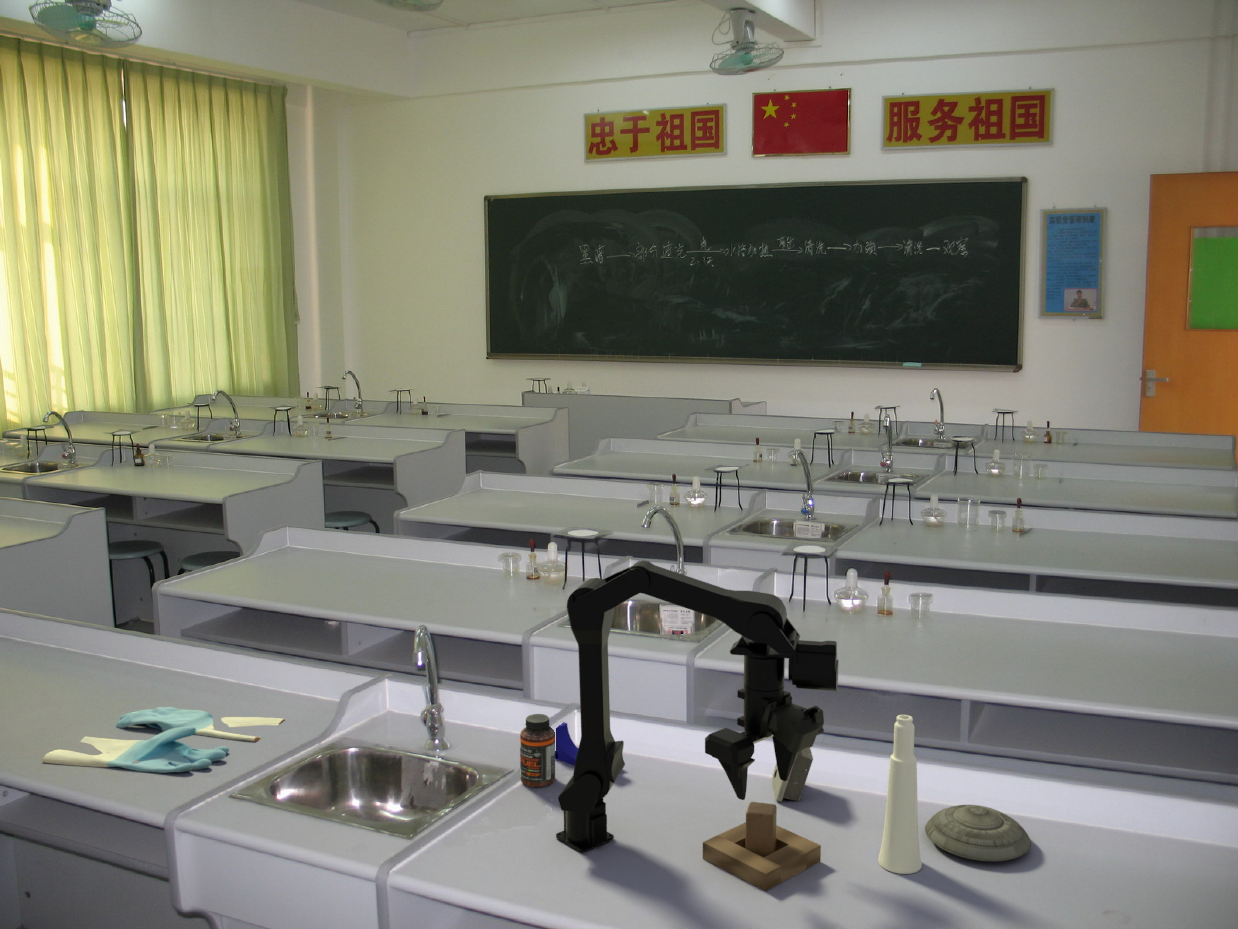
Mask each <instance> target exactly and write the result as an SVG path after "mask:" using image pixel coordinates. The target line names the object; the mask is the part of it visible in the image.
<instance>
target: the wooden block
mask: <svg viewBox="0 0 1238 929" xmlns="http://www.w3.org/2000/svg"><path fill="white" fill-rule="evenodd" d="M748 803H749V804H748V807H747V810H746V812H745V822H746V843H745V849H747V850H749V851H751V852H753V853H755V854H757V855H760V856H762V857H765V856H767V855H769V854H771V853H773V852H775V851H776V825H777V809H778V808H777V804H773V803H768V802H767V803H765V802H757V801H750V802H748Z"/></svg>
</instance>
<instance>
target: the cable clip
mask: <svg viewBox="0 0 1238 929" xmlns="http://www.w3.org/2000/svg"><path fill="white" fill-rule="evenodd" d="M562 722H563V723H562V724H561V725H559V726H558V727H557V728H556V751H555V760H557V761H559V762H563V763H565V764H569V765H572V766H573V767H574V766H575V760H576V756H577V752H578V748H579V747H577V746H576V744H575V743H574V741H573V740H572V738H571V735H570V732H569V726H568V723H567V722H564V721H562Z"/></svg>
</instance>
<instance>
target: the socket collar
mask: <svg viewBox="0 0 1238 929" xmlns="http://www.w3.org/2000/svg"><path fill="white" fill-rule="evenodd" d="M745 843H746V821H745V822H743V823H741V824H739V825H737V826H735V827H733V828H731V829H728V830H725V831H724V832H721V833H719V834H717V835H715V836H713V837H711V838H708V839H707V840H704V841H703V842H702V860H705V861H707V862H709V863H711V864H712V865H714V866H717V867H718V868H720V869H722V870H724V871H726V872H728V873H729V874H732V875H734V876H736V877H738V878H739V879H741V880H743V881H745V882H747V883H749V884H751V885H753V886H755V887H757V888H759V889H761V890H762V891H765V892H767V891H768V890H770V889H772V888H774V887H776V886H778V885H779V884H782V883H784V882H785V881H787V880H789V879H791V878H793V877H795V876H797V875H799V874H800V873H803V872H804V871H806V870H807V869H810V868H812V867H813V866H815V865H817V864H819V863H821V861H822V860H821V856H822V855H821V854H822V852H821V851H822V847H821V846H822V845H821V844H819V843H817V842H815V841H812V840H810V839H808V838H807V837H803V836H802V835H799V834H797V833H795V832H793V831H790V830H788V829H786V828H784V827H782V826H779V825H777V824H776V851H775V852H773V853H771V854H769V855H767V856H765V857H762V856H760V855H757V854H755V853H753V852H751V851H749V850H747V849H745Z"/></svg>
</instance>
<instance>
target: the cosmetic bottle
mask: <svg viewBox="0 0 1238 929" xmlns="http://www.w3.org/2000/svg"><path fill="white" fill-rule="evenodd" d="M913 720H914V719H913V716H911V715H908V714H898V715H897V716H896V721H895V722H894V726H893V728H894V729H893V753H891V755H890V756H889V765H888V766H889V768H888V777H887V779H888V780H887V791H886V802H885V803H886V805H885V815H884V816H885V817H884V824H883V834H882V839H881V845H880V846H881V847H880V850H879V855H878V863H879V865H880V866H881V867H882V868H883V869H884V870H886V871H888V872H891V873H894V874H899V875H910V874H915V873H917V872H919V871H920V870H921V869H922V866H923V863H922V857H921V850H920V840H919V839H920V838H919V818H918V817H919V816H918V814H919V812H918V768H917V766H918V765H917V764H918V763H917V757H916V756H915V755H914V753H915V725H914V723H913Z"/></svg>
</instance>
